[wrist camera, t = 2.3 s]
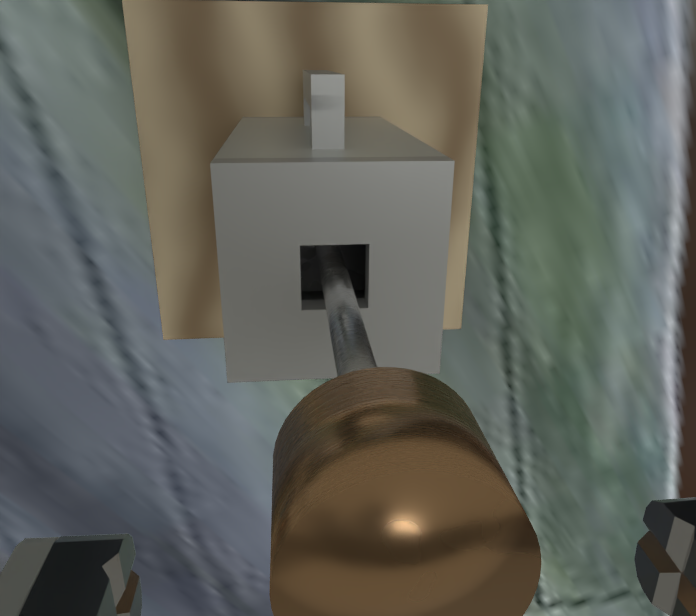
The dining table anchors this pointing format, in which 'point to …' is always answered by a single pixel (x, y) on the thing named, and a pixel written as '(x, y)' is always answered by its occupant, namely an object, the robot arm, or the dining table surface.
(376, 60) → the board
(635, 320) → the dining table surface
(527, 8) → the dining table surface
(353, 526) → the plunger
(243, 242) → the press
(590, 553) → the dining table surface
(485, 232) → the dining table surface
